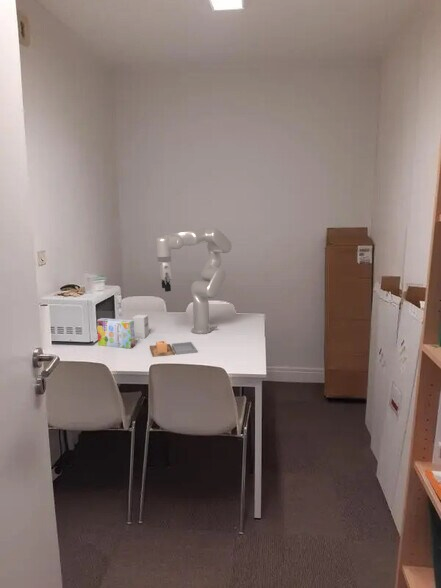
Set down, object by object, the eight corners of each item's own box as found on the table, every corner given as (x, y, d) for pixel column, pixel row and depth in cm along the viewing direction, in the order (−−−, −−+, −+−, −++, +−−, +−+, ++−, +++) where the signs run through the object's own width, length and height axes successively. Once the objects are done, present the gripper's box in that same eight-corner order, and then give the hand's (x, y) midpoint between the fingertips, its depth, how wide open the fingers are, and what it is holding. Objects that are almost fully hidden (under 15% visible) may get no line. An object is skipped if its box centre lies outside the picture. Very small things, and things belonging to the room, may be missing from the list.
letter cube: (165, 349, 240) (165, 340, 239) (167, 352, 236) (166, 343, 235) (156, 350, 239) (155, 341, 238) (157, 353, 234) (157, 344, 233)
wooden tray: (169, 348, 245) (169, 343, 245) (174, 356, 232) (174, 351, 232) (149, 350, 243) (149, 345, 242) (152, 358, 229) (152, 353, 229)
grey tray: (191, 346, 248) (191, 341, 248) (196, 354, 235) (196, 349, 235) (171, 348, 246) (171, 343, 245) (176, 356, 232) (175, 351, 232)
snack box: (135, 346, 250) (134, 319, 247) (130, 349, 245) (129, 322, 242) (103, 342, 257) (101, 317, 254) (97, 345, 252) (95, 319, 249)
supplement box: (144, 338, 264) (143, 317, 261) (133, 338, 265) (132, 317, 263) (149, 335, 271) (148, 314, 268) (137, 334, 272) (136, 314, 270)
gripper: (174, 261, 241) (175, 292, 245) (168, 257, 257) (170, 286, 261) (160, 262, 239) (162, 293, 243) (155, 258, 255) (157, 287, 259)
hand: (166, 289), depth 252 cm, fingers open, 9 cm apart
